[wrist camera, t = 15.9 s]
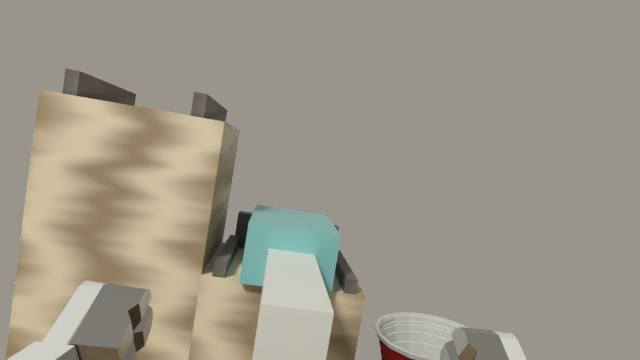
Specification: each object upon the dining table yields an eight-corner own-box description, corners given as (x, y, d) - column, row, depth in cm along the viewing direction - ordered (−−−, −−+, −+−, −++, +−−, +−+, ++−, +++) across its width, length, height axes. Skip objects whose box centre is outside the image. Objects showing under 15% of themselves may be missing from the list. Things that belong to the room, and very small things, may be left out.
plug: (318, 260, 33) (326, 215, 33) (359, 374, 16) (375, 282, 16) (249, 251, 32) (256, 204, 32) (214, 359, 15) (229, 262, 15)
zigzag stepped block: (311, 445, 36) (364, 134, 34) (321, 543, 27) (394, 128, 25) (64, 425, 33) (109, 89, 32) (-16, 526, 24) (42, 64, 23)
